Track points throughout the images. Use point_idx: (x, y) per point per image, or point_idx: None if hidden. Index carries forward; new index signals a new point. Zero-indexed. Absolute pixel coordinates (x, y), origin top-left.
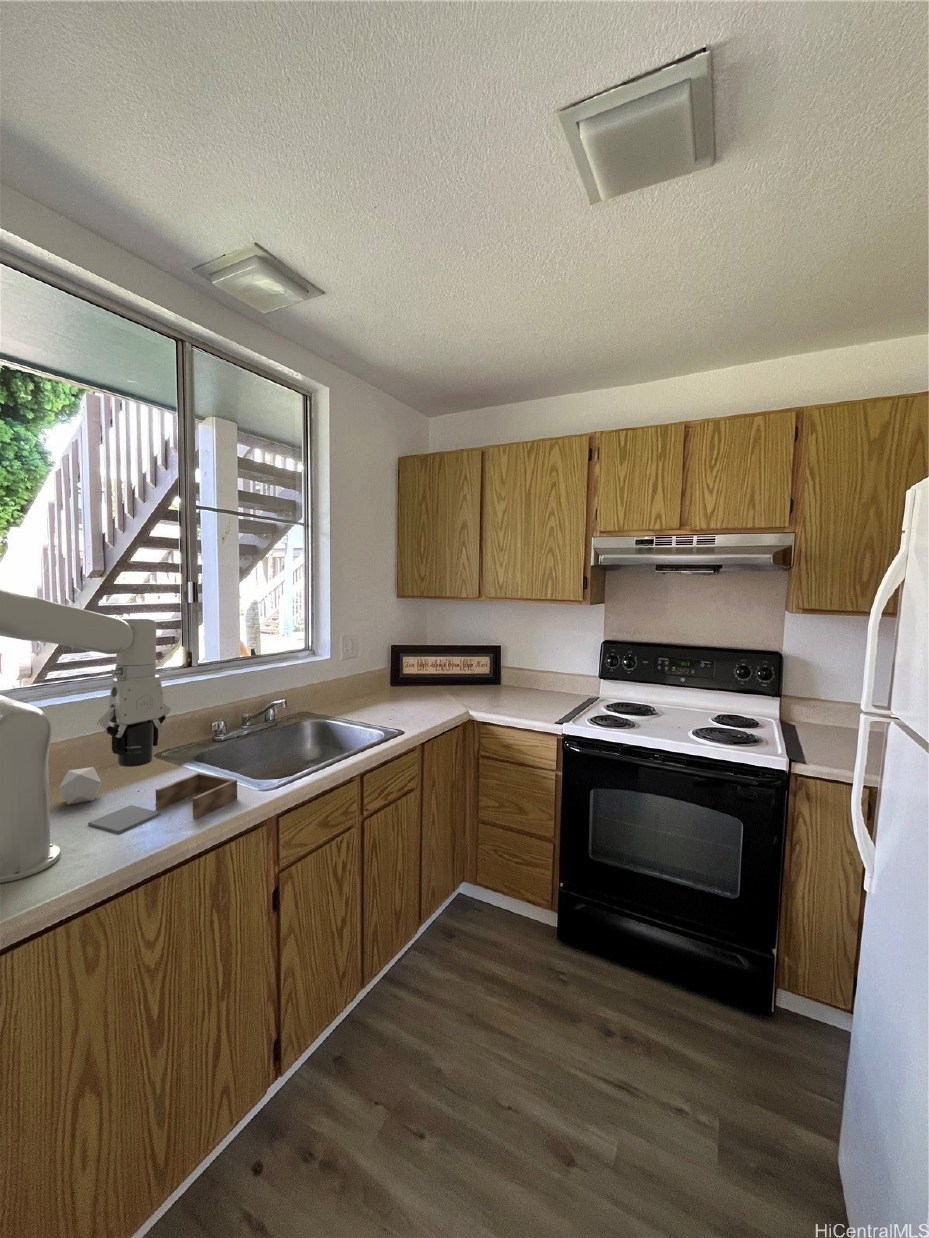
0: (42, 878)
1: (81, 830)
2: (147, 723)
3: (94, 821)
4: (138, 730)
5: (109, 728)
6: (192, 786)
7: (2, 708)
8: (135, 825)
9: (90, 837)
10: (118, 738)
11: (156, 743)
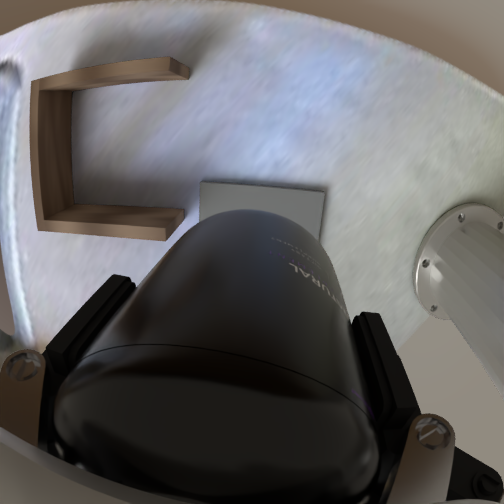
0: (489, 181)
1: None
2: (134, 448)
3: None
4: (327, 400)
5: (499, 488)
6: (76, 211)
7: None
8: (278, 187)
9: (355, 239)
10: (410, 417)
11: (116, 279)
